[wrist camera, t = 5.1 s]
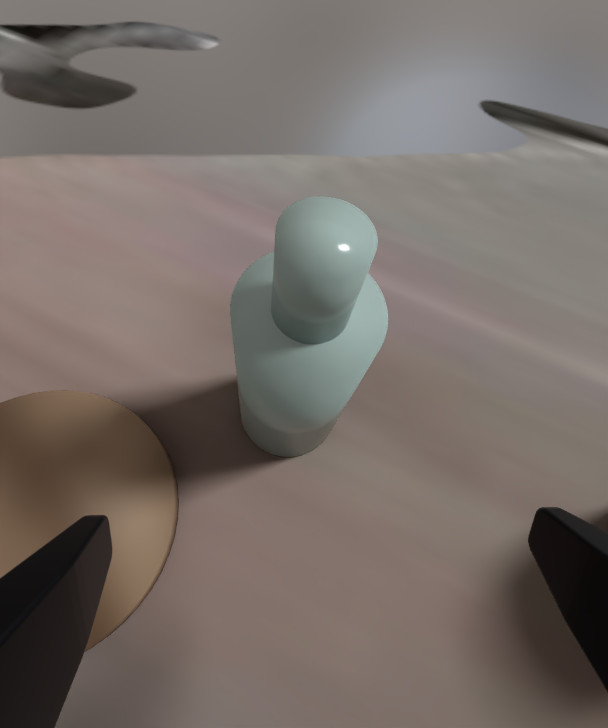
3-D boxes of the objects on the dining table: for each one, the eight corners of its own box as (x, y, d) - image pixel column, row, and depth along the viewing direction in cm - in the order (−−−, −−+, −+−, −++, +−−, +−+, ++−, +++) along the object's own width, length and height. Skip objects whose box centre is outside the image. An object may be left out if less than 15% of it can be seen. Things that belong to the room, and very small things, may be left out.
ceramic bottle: (287, 477, 22) (332, 367, 9) (220, 408, 23) (177, 224, 10) (353, 411, 24) (466, 244, 11) (288, 350, 25) (323, 135, 12)
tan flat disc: (-8, 751, 16) (-27, 765, 15) (-151, 518, 19) (-176, 516, 18) (229, 518, 20) (228, 516, 19) (85, 356, 23) (77, 346, 22)
